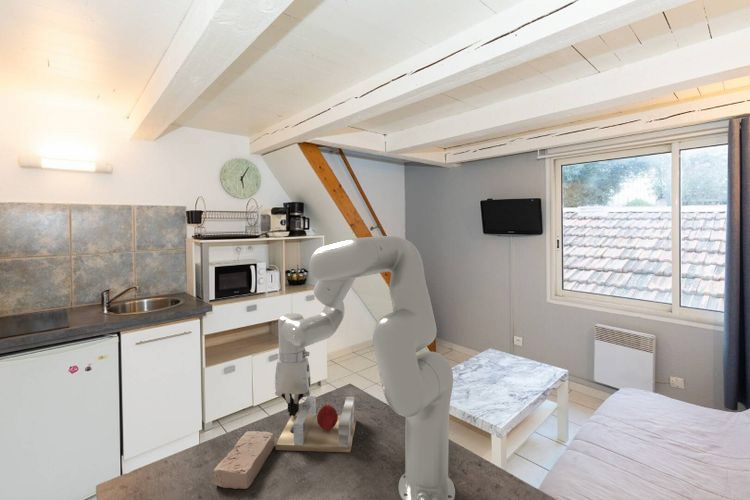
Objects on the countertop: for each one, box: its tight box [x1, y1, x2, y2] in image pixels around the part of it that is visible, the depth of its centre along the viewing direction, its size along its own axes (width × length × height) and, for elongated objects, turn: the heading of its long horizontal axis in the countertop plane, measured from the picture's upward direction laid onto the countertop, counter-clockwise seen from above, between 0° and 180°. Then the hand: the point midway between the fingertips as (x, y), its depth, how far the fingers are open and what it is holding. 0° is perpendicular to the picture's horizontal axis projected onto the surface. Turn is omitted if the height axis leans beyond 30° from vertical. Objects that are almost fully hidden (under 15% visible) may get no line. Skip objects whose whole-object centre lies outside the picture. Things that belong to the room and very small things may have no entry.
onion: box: [316, 402, 338, 430], centre depth 100 cm, size 6×6×8 cm
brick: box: [213, 430, 275, 490], centre depth 88 cm, size 17×8×5 cm, turn 174°
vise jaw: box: [290, 395, 317, 445], centre depth 101 cm, size 15×4×6 cm, turn 177°
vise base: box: [275, 396, 357, 453], centre depth 101 cm, size 15×20×8 cm
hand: (293, 413), depth 107 cm, fingers closed
